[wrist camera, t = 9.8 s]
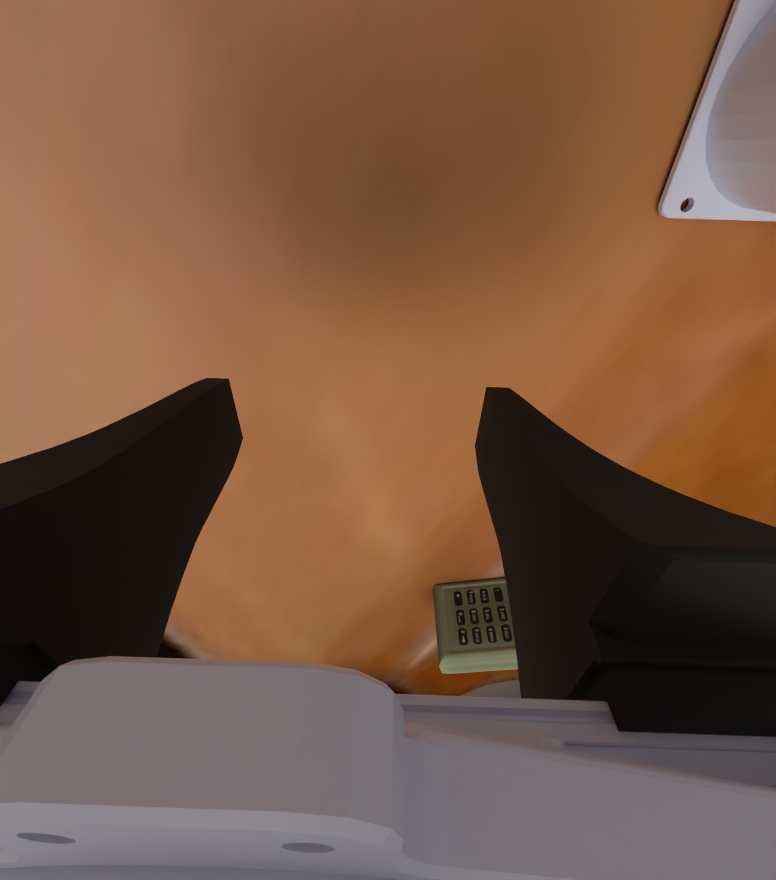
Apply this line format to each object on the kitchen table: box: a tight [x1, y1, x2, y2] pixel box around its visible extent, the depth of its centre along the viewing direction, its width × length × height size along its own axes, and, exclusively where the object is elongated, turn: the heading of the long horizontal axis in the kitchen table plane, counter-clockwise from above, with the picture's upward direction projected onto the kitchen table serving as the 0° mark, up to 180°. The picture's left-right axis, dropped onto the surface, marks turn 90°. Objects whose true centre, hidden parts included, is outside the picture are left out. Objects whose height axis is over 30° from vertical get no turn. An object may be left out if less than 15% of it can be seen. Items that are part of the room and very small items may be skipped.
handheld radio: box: [433, 578, 518, 674], centre depth 31 cm, size 7×3×25 cm
